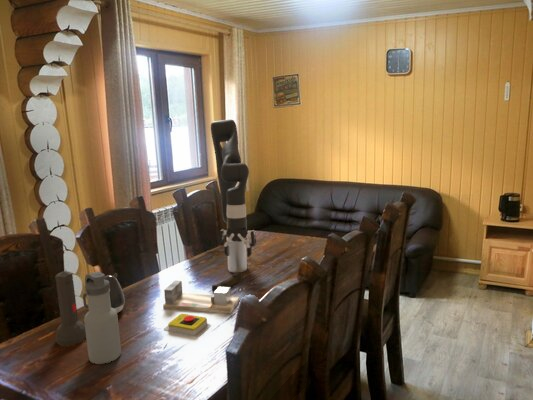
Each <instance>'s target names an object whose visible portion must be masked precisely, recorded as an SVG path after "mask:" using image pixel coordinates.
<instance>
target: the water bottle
mask: <svg viewBox="0 0 533 400" xmlns="http://www.w3.org/2000/svg"><path fill="white" fill-rule="evenodd" d="M105 276H106V274H105V273H102V272H100V271H94V272H91V273H87V274H86V275H85V277H84V288H85V292H83V294H82V303H83V306H84V308H87V309H88V311H87V312H86V314H85V315H84V318H83V320H84V321H83V323H84V325H85V331H86V339H85V340H86V347H87V353H88V360H89V361H90V362H91V363H92V364H94V363H95V364H96V365H104V364H105V363H106V364H109V363H112V362H114V361H116V360H117V359H118V358H119V357H120V356H121V353H122V348H121V346H122V345H121V339H120V328H119V320H118V317H119V316H118V313H117V312H116V310H115V309H114V308H112V307H111V303H110V293H109V292H110V285H109V281H108V280H105ZM86 298H87V301H86ZM111 361H112V362H111Z"/></svg>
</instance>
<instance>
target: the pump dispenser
mask: <svg viewBox="0 0 533 400" xmlns="http://www.w3.org/2000/svg"><path fill="white" fill-rule="evenodd" d="M117 277H118V272H115V273H114V274H113V275H111V274H108V275H105V280H108V281H109V285H110V292H109V293H110V303H111V307H112V308H114V309H115V310H116V312H117V314H118V313H119V312H121V311H122V310H123V308H124V305H125V303H126V302H125V301H126V300H125V299H126V298H125V294H124V290H123V289H122V286H121V284H120V282H119V281H118V279H117Z"/></svg>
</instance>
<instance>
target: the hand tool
mask: <svg viewBox="0 0 533 400" xmlns="http://www.w3.org/2000/svg"><path fill="white" fill-rule="evenodd" d="M243 277H244V276H243V272H234V273H233V274H232V275H231V276H230V277H229V278H227V279H224V280H223V281H221V282H218V283H217V284H215V285H213V284H212V286H211V291H212V293H213V294H214V292H215V290H216V289H217V288H218V287H231V286H234V285H238V284H239V283H241V281H242V280H244V279H243Z"/></svg>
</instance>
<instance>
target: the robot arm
mask: <svg viewBox="0 0 533 400" xmlns="http://www.w3.org/2000/svg"><path fill="white" fill-rule="evenodd" d="M210 133H211V139H212V140H211V141H212V145H213V150H214V156H215V163H216V175H217V179H218V180H217V181H218V184H219V192H220V193H219V194H220V200H221V201H220V202H221V203H220V204H221V215H222V216H221V217H222V220H223V222H224V223H226V228H227V229H224V228H222V229H221V230H219V237H218V238H219V245H220V246H223V247H224V254H225V256H226V257H227V269H228V272H230V273H237V272H241V273H243V272H246V271H247V269H248V267H247V266H248V264H247V258H251V256H252V254H253V250H252V247H255V246H256V245H257V236H256V230H255V229H252V230H248V226H247V225H248V224H247V223H248V220H247V206H246V187H247V182H248V178H249V175H250V172H249V171H250V170H249V169H250V168H249V167H248V165H247V164H246V163H244V162H242V157H241V155H240V150H239V137H238V136H239V135H238V134H239V133H238V128H237V124H236V121H235V120H233V119H223V120H222V119H221V120H214V121H212V122H211V123H210ZM223 142H224V143H225V142H226V143H225V144H224V145H223V147H222V144H221V143H223ZM247 235H249V237H250V240H251V241H250V240H249V237H248V236H247ZM225 236H226V241H225Z"/></svg>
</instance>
